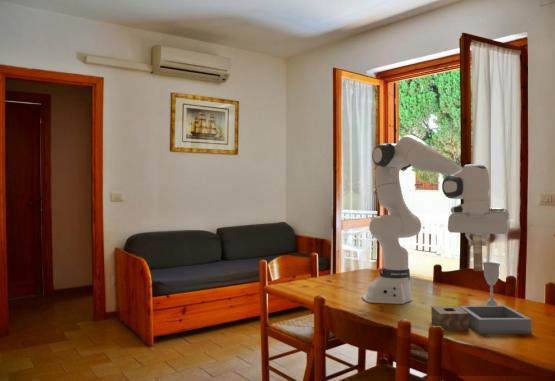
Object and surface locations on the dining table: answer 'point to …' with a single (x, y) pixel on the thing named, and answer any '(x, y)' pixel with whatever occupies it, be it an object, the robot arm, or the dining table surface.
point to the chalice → (491, 279)
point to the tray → (497, 320)
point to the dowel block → (450, 317)
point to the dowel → (477, 252)
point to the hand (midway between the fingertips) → (477, 245)
